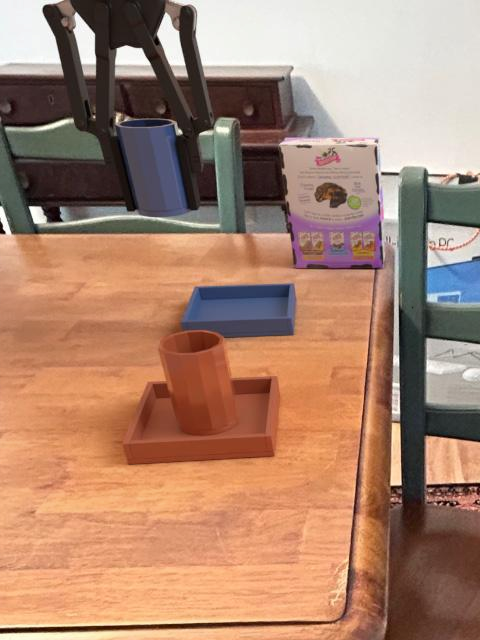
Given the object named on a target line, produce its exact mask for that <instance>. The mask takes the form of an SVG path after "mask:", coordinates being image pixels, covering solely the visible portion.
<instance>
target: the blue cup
mask: <svg viewBox="0 0 480 640" xmlns="http://www.w3.org/2000/svg"><path fill="white" fill-rule="evenodd" d="M114 129H115V132H116V136H117V137H118V141H119V145H120V149H121V153H122V157H123V161H124V165H125V169H126V173H127V177H128V181H129V185H130V189H131V193H132V198H133V202H134V206H135V207H136V210H135V211H136V213H137V214H138V215H140V216H142V217H148V218H171V217H178V216H182V215H186V214H188V213H191V212H192V211H190V206H189V201H188V196H187V191H186V186H185V181H184V176H183V171H182V166H181V161H180V156H179V151H178V146H177V142H176V139H177V138H178V137H179V136H180V132H179V126H178V123H177V120H173V119H168V118H167V119H166V118H137V119H136V118H135V119H128V120H127V119H126V120H122V121H117V123H114Z"/></svg>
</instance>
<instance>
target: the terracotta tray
mask: <svg viewBox="0 0 480 640" xmlns="http://www.w3.org/2000/svg"><path fill="white" fill-rule="evenodd" d="M232 380H233V385H234V390H235V396H236V401H237V406H238V416H239V421H238V423H237V424H236V425H235V426H234V427H232V428H231V429H229V430H227V431H224V432H222V433H218V434H213V435H192V434H188V433H186V432H184V431H182V430H181V429H180V428H179V425H178V422H177V421H176V417H175V413H174V410H173V406H172V402H171V398H170V394H169V390H168V386H167V382H166V380H161V381H160V380H157V381H156V380H155V381H147V383H146V385H145V387H144V391H143V392H142V394H141V396H140V399H139V402H138V404H137V407H136V409H135V411H134V414H133V416H132V418H131V421H130V423H129V426H128V428H127V431H126V434H125V435H124V438H123V441H122V443H121V445H122V448H123V452H124V455H125V458H126V462H127V464H128V465H139V464H157V463H160V464H161V463H174V462H175V463H176V462H193V461H208V460H210V461H211V460H227V459H244V458H260V457H261V458H262V457H274V456H275V453H276V444H277V443H276V442H277V433H278V432H277V431H278V423H279V410H280V398H281V391H280V383H279V378H278V376H277V375H272V376H271V375H268V376H267V375H265V376H246V377H244V376H243V377H232Z"/></svg>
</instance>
